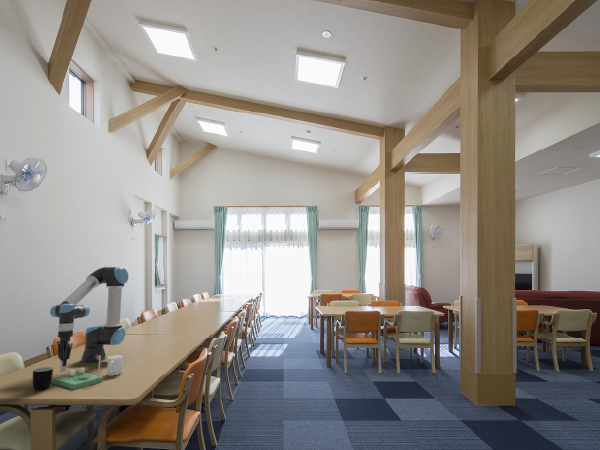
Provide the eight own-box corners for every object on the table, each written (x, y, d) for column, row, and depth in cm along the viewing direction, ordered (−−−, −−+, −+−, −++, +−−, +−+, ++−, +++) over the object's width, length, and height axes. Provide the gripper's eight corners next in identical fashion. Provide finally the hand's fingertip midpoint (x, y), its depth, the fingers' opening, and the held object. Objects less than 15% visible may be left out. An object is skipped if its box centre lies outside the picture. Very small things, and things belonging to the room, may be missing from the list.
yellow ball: (76, 374, 219) (77, 368, 219) (82, 372, 222) (83, 366, 222) (80, 374, 217) (80, 368, 218) (85, 373, 220) (86, 367, 221)
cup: (123, 371, 233) (124, 355, 234) (117, 377, 221) (118, 359, 222) (109, 372, 232) (110, 355, 233) (102, 378, 220) (103, 360, 221)
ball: (67, 376, 214) (67, 370, 215) (73, 375, 217) (73, 368, 218) (70, 377, 213) (70, 371, 213) (76, 375, 216) (76, 369, 216)
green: (51, 383, 210) (53, 356, 212) (80, 375, 224) (82, 350, 226) (73, 389, 199) (75, 361, 201) (102, 381, 213) (103, 355, 215)
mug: (35, 386, 204) (36, 367, 205) (54, 385, 206) (55, 366, 207) (26, 394, 192) (27, 373, 193) (46, 392, 195) (47, 372, 196)
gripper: (53, 330, 222) (50, 371, 220) (65, 332, 216) (62, 374, 213) (66, 328, 229) (63, 368, 226) (78, 330, 222) (75, 371, 220)
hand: (62, 371), depth 220 cm, fingers closed
